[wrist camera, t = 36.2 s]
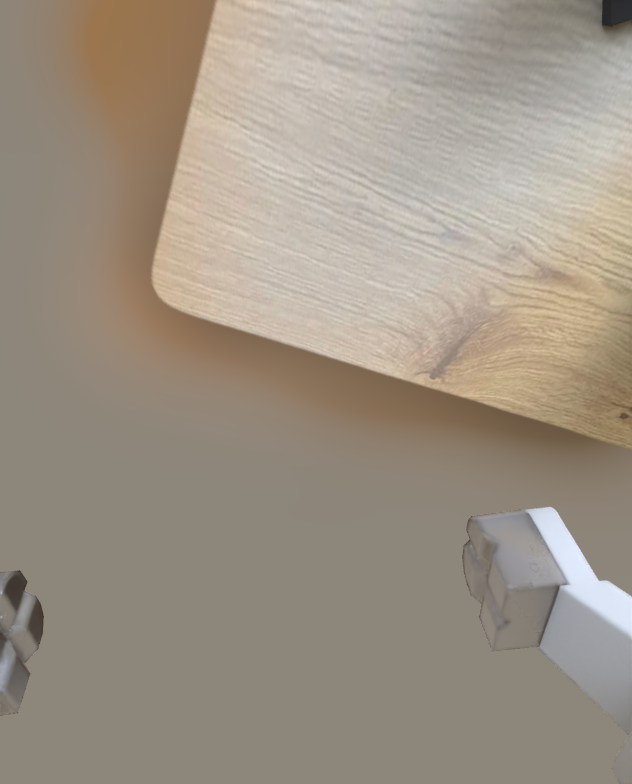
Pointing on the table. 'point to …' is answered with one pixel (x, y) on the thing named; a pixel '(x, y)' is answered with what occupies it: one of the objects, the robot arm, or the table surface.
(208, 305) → the table surface
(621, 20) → the base pad
